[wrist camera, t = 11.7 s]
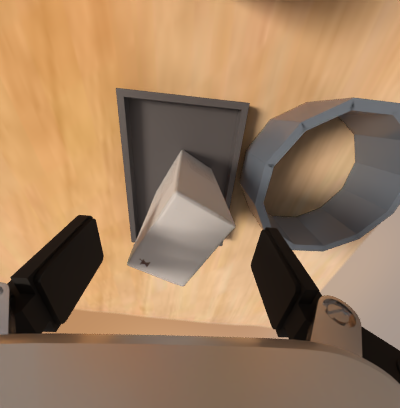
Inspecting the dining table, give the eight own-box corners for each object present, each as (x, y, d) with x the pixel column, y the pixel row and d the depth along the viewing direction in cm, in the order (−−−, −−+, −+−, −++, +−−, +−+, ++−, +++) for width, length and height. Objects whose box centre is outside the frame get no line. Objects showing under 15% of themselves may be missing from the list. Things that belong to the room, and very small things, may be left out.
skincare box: (186, 207, 23) (182, 290, 12) (156, 190, 21) (122, 266, 11) (214, 168, 21) (239, 227, 10) (182, 147, 19) (172, 189, 9)
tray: (243, 104, 18) (249, 103, 16) (219, 236, 26) (222, 245, 24) (123, 90, 17) (115, 87, 15) (135, 232, 25) (131, 242, 23)
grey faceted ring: (387, 111, 19) (463, 111, 14) (329, 224, 26) (366, 253, 20) (256, 96, 18) (285, 89, 13) (231, 218, 25) (243, 248, 19)
